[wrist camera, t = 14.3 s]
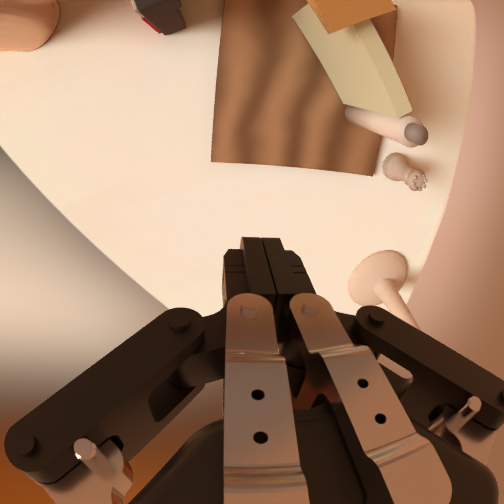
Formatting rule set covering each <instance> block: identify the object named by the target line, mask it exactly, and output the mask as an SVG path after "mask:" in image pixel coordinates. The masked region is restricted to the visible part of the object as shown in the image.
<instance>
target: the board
mask: <svg viewBox="0 0 504 504" xmlns="http://www.w3.org/2000/svg"><path fill="white" fill-rule="evenodd" d="M307 4H308V2H307V1H306V0H225V2H224V11H223V19H222V28H221V38H220V47H219V58H218V68H217V80H216V92H215V105H214V119H213V134H212V150H211V162H223V163H244V164H261V165H275V166H287V167H299V168H309V169H319V170H328V171H336V172H345V173H352V174H360V175H367V176H373V173H374V169H375V164H376V159H377V155H378V150H379V145H380V140H381V135H380V134H377V133H375V132H372V131H370V130H367V129H365V128H362V127H360V126H357V125H354V124H352V123H350V122H349V121H348V120H347V119H346V117H345V109H346V107H347V106H348V105H346V104H343V102H342V100H341V98H340V96H339V95H338V93H337V91H336V89H335V87H334V85H333V83H332V82H331V80H330V78H329V76H328V74H327V73H326V71H325V69H324V67H323V65H322V64H321V62H320V60H319V59H318V57H317V55H316V54H315V52H314V50H313V49H312V47H311V45H310V44H309V42H308V41H307V39H306V37H305V36H304V34H303V33H302V31H301V30H300V28H299V27H298V25H297V23H296V22H295V20H294V19H293V18H292V16H293V15H294V14H295V13H297V12H298V11H299V10H300V9H302V8H303V7H304V6H306V5H307ZM393 5H394V4H393ZM394 6H395V8H396V10H394V11H391V12H388V13H385V14H382V15H379V16H376V17H373V18H370V20H371V22H372V24H373V25H374V27H375V29H376V31H377V33H378V35H379V37H380V38H381V40H382V42H383V44H384V46H385V48H386V50H387V52H388V54H389V56H390V58H391V61H392V62H393V53H394V43H395V32H396V19H397V5H394Z"/></svg>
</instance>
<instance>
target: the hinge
mask: <svg viewBox="0 0 504 504" xmlns="http://www.w3.org/2000/svg"><path fill="white" fill-rule="evenodd" d="M292 18H293V19H294V20H295V22H296V23H297V25H298V27H299V28H300V30H301V31H302V33H303V34H304V36H305V37H306V39H307V41H308V42H309V44H310V45H311V47H312V49H313V50H314V52H315V54H316V55H317V57H318V59H319V60H320V62H321V64H322V65H323V67H324V69H325V71H326V73H327V74H328V76H329V78H330V80H331V82H332V83H333V85H334V87H335V89H336V91H337V93H338V95H339V96H340V98H341V100H342V102H343V104H346V105H348V106H347V107H346V109H345V117H346V119H347V120H348V121H349V122H350V123H352V124H354V125H357V126H360V127H362V128H365V129H367V130H370V131H372V132H375V133H377V134H380V135H382V136H384V137H387V138H389V139H391V140H394V141H396V142H398V143H401V144H403V145H405V146H407V147H416V146H417V145H423V144H425V143H426V141H427V139H428V131H427V129H426V128H425V127H424V126H423V124H422V123H421V121H420V120H419V119H417V118H415V117H412V116H409V115H406V114H407V113H409V112H411V111H413V110H412V107H411V105H410V102H409V100H408V97H407V95H406V92H405V90H404V87H403V85H402V83H401V80H400V78H399V76H398V74H397V71H396V69H395V67H394V65H393V63H392V61H391V58H390V56H389V54H388V52H387V50H386V48H385V46H384V44H383V42H382V40H381V38H380V37H379V35H378V33H377V31H376V29H375V27H374V25H373V24H372V22H371V20H370V19H367V20H364V21H362V22H359V23H356V24H354V25H351V26H348V27H346V28H343V29H341V30H338V31H336V32H334V33H331V34H328V33H327V31H326V30H325V28H324V27H323V25H322V23H321V22H320V20H319V19H318V17H317V16H316V14H315V13H314V11H313V10H312V8H311V7H310V5H309V4H307V5H306V6H304V7H303V8H302V9H300V10H299V11H298V12H297V13H295V14H294V15H293V16H292Z"/></svg>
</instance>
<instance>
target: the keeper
mask: <svg viewBox="0 0 504 504" xmlns="http://www.w3.org/2000/svg"><path fill="white" fill-rule="evenodd" d="M306 1H307V2H308V4H309V5H310V7H311V8H312V10H313V11H314V13H315V14H316V16H317V17H318V19H319V20H320V22H321V23H322V25H323V27H324V28H325V30H326V31H327V33H328V34H331V33H334V32H336V31H338V30H341V29H343V28H346V27H348V26H351V25H354V24H356V23H359V22H362V21H364V20H367V19H370V18H373V17H376V16H379V15H382V14H385V13H388V12H391V11H394V10H396V8H395V6H394V5H393V3H392V1H391V0H306Z"/></svg>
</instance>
